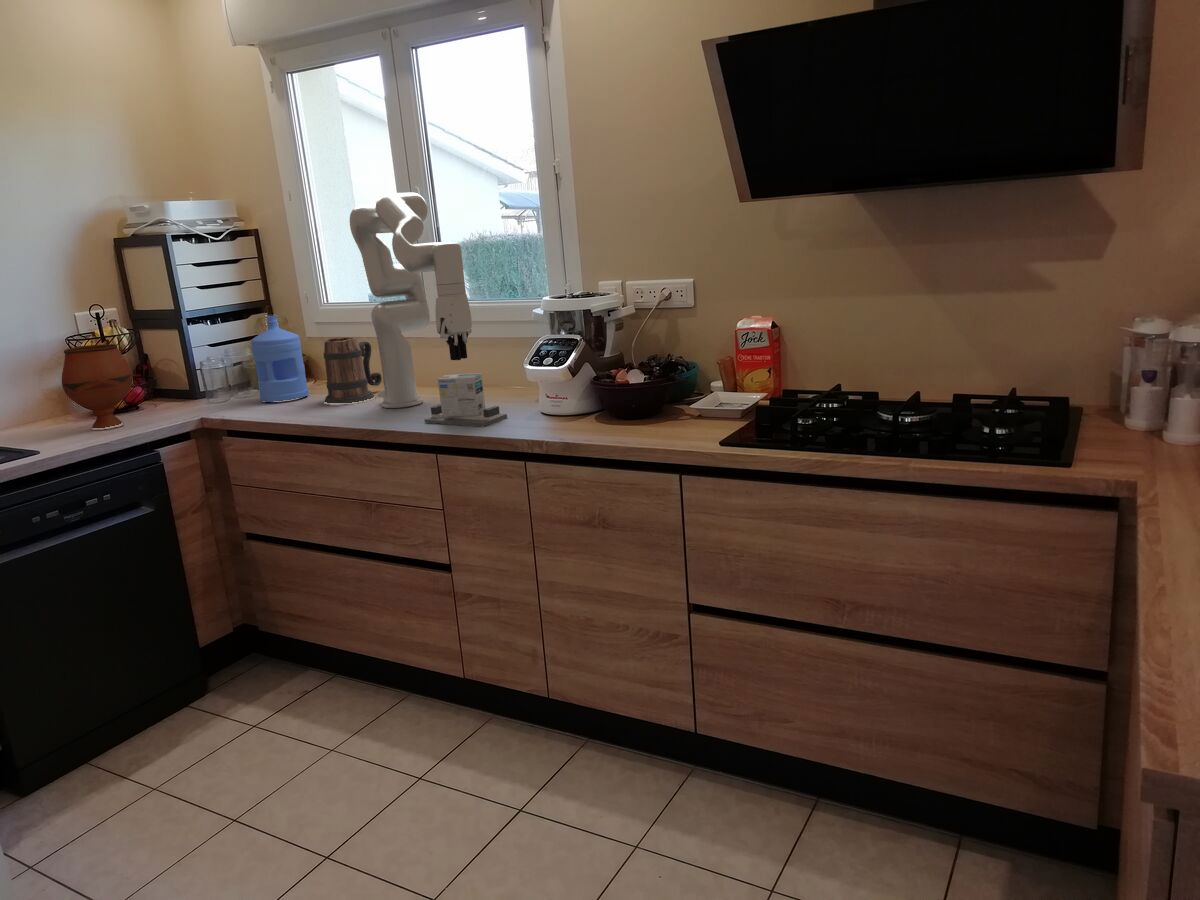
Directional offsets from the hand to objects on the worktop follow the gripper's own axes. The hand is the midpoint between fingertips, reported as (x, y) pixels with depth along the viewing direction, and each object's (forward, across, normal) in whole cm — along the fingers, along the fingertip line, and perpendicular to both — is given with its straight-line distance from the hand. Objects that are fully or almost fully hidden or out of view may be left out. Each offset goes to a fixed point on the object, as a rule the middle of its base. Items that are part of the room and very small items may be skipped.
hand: (459, 358), depth 235 cm
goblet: (+17, +32, -113) cm, 119 cm away
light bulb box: (+16, 0, 0) cm, 16 cm away
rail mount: (+17, 0, 0) cm, 17 cm away
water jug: (+17, -15, -88) cm, 91 cm away
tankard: (+17, -21, -61) cm, 67 cm away
